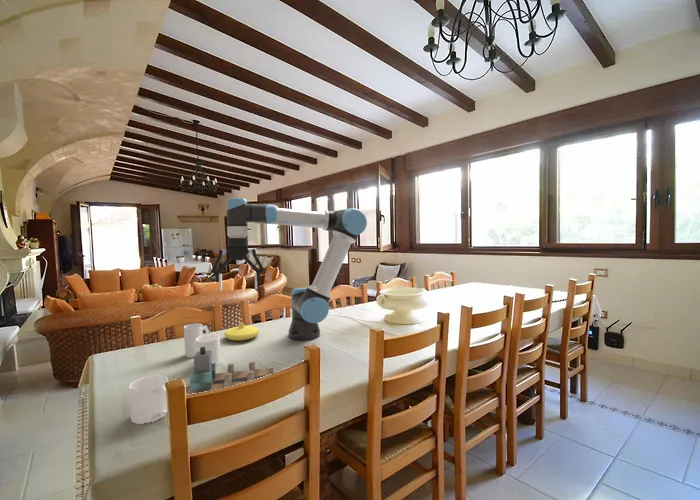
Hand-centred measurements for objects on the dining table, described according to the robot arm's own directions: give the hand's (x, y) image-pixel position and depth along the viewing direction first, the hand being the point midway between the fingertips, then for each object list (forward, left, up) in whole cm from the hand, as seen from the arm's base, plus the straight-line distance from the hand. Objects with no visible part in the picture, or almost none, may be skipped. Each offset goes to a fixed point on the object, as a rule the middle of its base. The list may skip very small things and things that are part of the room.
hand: (238, 289), depth 132 cm
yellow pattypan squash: (+1, -21, -27) cm, 34 cm away
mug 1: (+19, +41, -27) cm, 53 cm away
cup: (+12, +6, -27) cm, 30 cm away
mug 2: (+17, -5, -27) cm, 32 cm away
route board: (0, +26, -27) cm, 37 cm away
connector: (+9, +26, -26) cm, 38 cm away
